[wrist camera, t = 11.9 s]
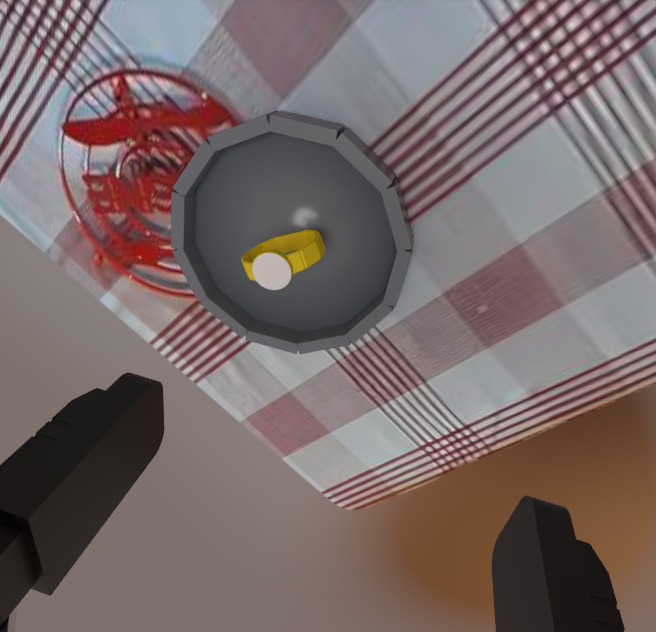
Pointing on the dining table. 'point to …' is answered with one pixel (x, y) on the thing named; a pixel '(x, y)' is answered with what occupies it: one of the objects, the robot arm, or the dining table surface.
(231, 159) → the round dish
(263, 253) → the watch
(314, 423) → the dining table surface
